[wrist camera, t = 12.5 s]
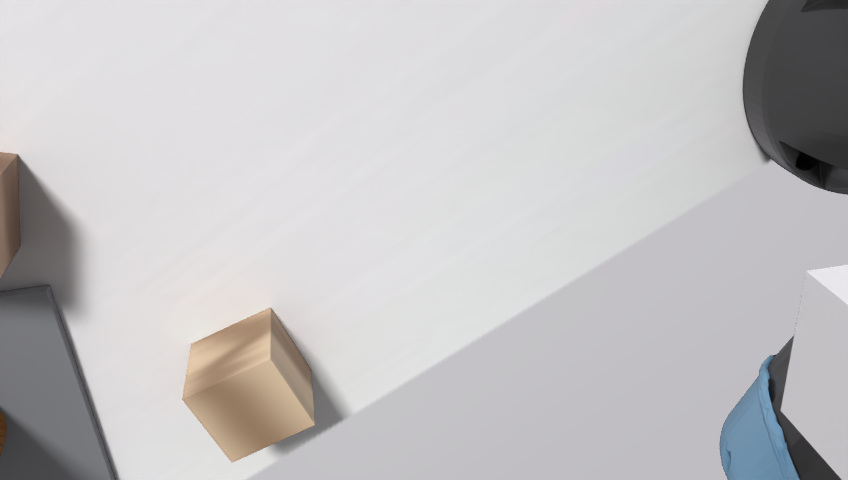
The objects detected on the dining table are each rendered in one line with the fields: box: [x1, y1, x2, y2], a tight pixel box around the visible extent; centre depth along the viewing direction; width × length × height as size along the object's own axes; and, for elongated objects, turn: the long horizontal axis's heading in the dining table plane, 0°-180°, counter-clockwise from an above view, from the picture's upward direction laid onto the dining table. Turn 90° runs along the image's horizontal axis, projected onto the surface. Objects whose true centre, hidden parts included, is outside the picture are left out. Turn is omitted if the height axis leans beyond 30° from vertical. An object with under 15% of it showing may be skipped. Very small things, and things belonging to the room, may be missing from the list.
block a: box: [182, 307, 315, 462], centre depth 42 cm, size 5×5×5 cm
